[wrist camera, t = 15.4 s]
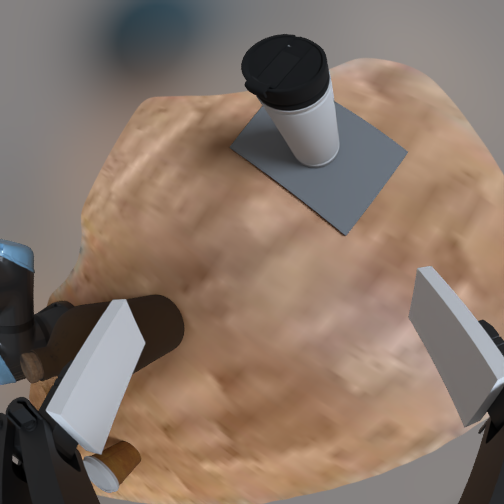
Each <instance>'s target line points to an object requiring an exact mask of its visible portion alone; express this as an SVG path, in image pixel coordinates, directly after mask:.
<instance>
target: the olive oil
mask: <svg viewBox="0 0 504 504" xmlns="http://www.w3.org/2000/svg"><path fill="white" fill-rule="evenodd" d="M126 301H127V303H128V305H129V308H130V310H131V312H132V315H133V317H134V319H135V322H136V324H137V326H138V328H139V330H140V333H141V335H142V337H143V339H144V341H145V345H144V348H143V350H142V352H141V355H140V357H139V359H138V362H137V364H136V366H135V369H134V371H133V373H132V374H134V373H135V372H137V371H139V370H140V369H142V368H143V367H145V366H147V365H148V364H150V363H152V362H153V361H155V360H156V359H158V358H160V357H162V356H163V355H165V354H167V353H168V352H170V351H172V350H173V349H175V348H176V347H177V346H178V345H179V344H180V343H181V341H182V338H183V335H184V323H183V319H182V316H181V313H180V311H179V310H178V308H177V307H176V305H175V304H174V303H173V302H172V301H171V300H169V299H168V298H166V297H164V296H161V295H149V296H144V297H138V298H132V299H126ZM111 302H112V301H110V302H102V303H94V304H85V305H79V306H76V307H73V308H71V309H70V310H68V311H67V312H65V313H64V314H63V315H61V316H60V318H59V319H58V320H57V322H56V324H55V326H54V328H53V331H52V333H51V336H50V339H49V341H48V344H47V346H46V347H43V348H38V349H34V350H31V351H30V352H29V353H23V354H21V356H20V363H21V368H22V370H23V373H24V375H25V377H26V378H27V379H28V381H29V382H30V383H35V382H38V381H39V380H40V381H44V380H47V379H49V378H52V377H54V376H58V375H59V374H60V372H61V370H62V369H63V367H64V366H65V365H66V364H67V363H69V362H70V361H71V360H74V359H75V357H76V356H77V354H78V352H79V351H80V349H81V348H82V346H83V344H84V343H85V341H86V340H87V338H88V336H89V335H90V333H91V332H92V330H93V329H94V327H95V326H96V324H97V323H98V321H99V319H100V318H101V316H102V315H103V313H104V312H105V310H106V309H107V307H108V306H109V305H110V303H111Z"/></svg>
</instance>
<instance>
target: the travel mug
mask: <svg viewBox="0 0 504 504" xmlns="http://www.w3.org/2000/svg"><path fill="white" fill-rule="evenodd" d="M241 70H242V74H243V76H244V77H245V79H246V80H247V81H246V82H245V87H246V88H247V90H248V91H249V92H251V93H253V94H254V95H256V96H257V98H258V99H259V101H260V102H261V104H262V105H263V107H264V108H265V110H266V111H267V113H268V114H269V116H270V117H271V119H272V121H273V122H274V124H275V125H276V127H277V128H278V130H279V131H280V133H281V135H282V136H283V138H284V139H285V141H286V143H287V144H288V146H289V147H290V149H291V151H292V152H293V154H294V156H295V157H296V159H297V160H298V161H299V162H300V163H301V164H303V165H305V166H307V167H310V168H321V167H325V166H327V165H329V164H330V163H332V162H333V161H334V160H335V159H336V157H337V155H338V153H339V149H340V143H339V134H338V125H337V117H336V110H335V102H334V96H333V89H332V83H331V77H330V71H329V69H328V64H327V58H326V54H325V52H324V51H323V49H322V48H321V47H320V46H319V45H317V44H316V43H314V42H313V41H311V40H308V39H306V38H302V37H295V35H288V34H282V35H275V36H271V37H268V38H265V39H263V40H261V41H259V42H257V43H256V44H255V45H253V46H252V47H251V48H250V49H249V50H248V51H247V52H246V54H245V56H244V57H243V60H242V64H241Z"/></svg>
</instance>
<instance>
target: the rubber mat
mask: <svg viewBox="0 0 504 504" xmlns="http://www.w3.org/2000/svg"><path fill="white" fill-rule="evenodd" d="M334 102H335V101H334ZM335 110H336V117H337V125H338V134H339V143H340V149H339V153H338V155H337V157H336V159H335V160H334V161H333V162H332V163H330V164H329V165H327V166H325V167H321V168H310V167H307V166H305V165H303V164H301V163H300V162H299V161H298V160H297V159H296V157H295V156H294V154H293V152H292V151H291V149H290V147H289V146H288V144H287V143H286V141H285V139H284V138H283V136H282V135H281V133H280V131H279V130H278V128H277V127H276V125H275V124H274V122H273V121H272V119H271V117H270V116H269V114H268V113H267V111H266V110H265V108H264V107H263V106H262V107H261V108H260V110H259V111H258V112H257V113H256V114H255V116H254V117H253V118H252V119H251V121H250V122H249V123H248V124H247V126H246V127H245V128H244V129H243V131H242V132H241V133H240V134H239V136H238V137H237V138H236V140H235V141H234V142H233V143H232V145H231V146H230V148H231V149H232V150H234V151H235V152H237V153H238V154H239V155H241V156H242V157H244V158H245V159H247V160H248V161H249V162H251V163H252V164H254V165H255V166H256V167H258V168H259V169H260V170H262V171H263V172H265V173H266V174H267V175H269V176H270V177H271V178H273V179H274V180H275V181H277V182H278V183H279V184H281V185H282V186H283V187H285V188H286V189H287V190H289V191H290V192H291V193H293V194H294V195H295V196H297V197H298V198H299V199H300V200H302V201H303V202H304V203H306V204H307V205H308V206H309V207H311V208H312V209H313V210H314V211H316V212H317V213H318V214H319V215H321V216H322V217H323V218H324V219H326V220H327V221H328V222H329V223H331V224H332V225H333V226H334V227H336V228H337V229H338V230H339V231H340V232H342V233H343V234H344V235H345V236H346V235H347V234H348V233H349V231H350V230H351V229H352V228H353V226H354V225H355V224H356V222H357V221H358V220H359V219H360V217H361V216H362V215H363V213H364V212H365V211H366V209H367V208H368V207H369V205H370V204H371V203H372V201H373V200H374V199H375V197H376V196H377V195H378V193H379V192H380V191H381V189H382V188H383V187H384V185H385V184H386V183H387V181H388V180H389V178H390V177H391V176H392V174H393V173H394V171H395V170H396V169H397V167H398V166H399V164H400V163H401V162H402V160H403V159H404V157H405V156H406V155H407V153H408V151H406V150H405V149H404V148H402V147H401V146H400V145H398V144H397V143H396V142H394V141H393V140H392V139H390V138H389V137H388V136H386V135H385V134H384V133H382V132H381V131H379V130H378V129H376V128H375V127H374V126H372V125H371V124H369V123H368V122H366V121H365V120H363V119H362V118H360V117H359V116H357V115H356V114H354V113H353V112H351V111H349V110H348V109H346V108H345V107H343V106H341V105H340V104H338V103H336V102H335Z"/></svg>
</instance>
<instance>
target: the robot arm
mask: <svg viewBox="0 0 504 504" xmlns="http://www.w3.org/2000/svg"><path fill="white" fill-rule="evenodd" d="M34 273H35V271H34V255H33V251H32V250H31V249H30V248H29V247H28V246H26V245H22V244H19V243H15V242H11V241H8V240H3V239H0V385H4V384H8V383H15V382H16V381H19V380H22V379H25V378H26V377H25V375H24V373H23V370H22V368H21V363H20V356H21V354H23V353H29V352H30V351H31V350H34V349H38V348H43V347H46V346H47V344H48V341H49V339H50V336H51V333H52V331H53V328H54V326H55V324H56V322H57V320H58V319H59V318H60V316H61V315H63V314H64V313H65V312H67V311H68V310H70V309H71V308H73V307H74V306H73V305H72V304H71V303H69V302H67V301H59V302H54V303H52V304H51V305H49V306H47V307H46V308H44V309H43V310H41V311H40V312H38V313H37V314H34V305H33V287H34V285H33V284H34ZM409 319H410V321H411V322H412V324H413V326H414V328H415V329H416V331H417V333H418V335H419V336H420V338H421V340H422V342H423V343H424V345H425V347H426V349H427V351H428V353H429V354H430V356H431V358H432V360H433V362H434V364H435V366H436V368H437V370H438V372H439V374H440V376H441V378H442V380H443V382H444V384H445V386H446V388H447V390H448V392H449V394H450V396H451V398H452V400H453V402H454V405H455V407H456V409H457V411H458V413H459V416H460V418H461V420H462V423H463V425H464V427H467V426H469V425H471V424H474V423H476V422H478V421H480V420H481V419H482V417H483V416H484V415H485V413H486V412H488V414H489V416H490V417H489V419H488V420H487V421H486V422H485V424H484V425H483V426H482V427H481V428H480V430H479V432H478V433H479V434H480V433H481V432H482V431H483V430H484V429H485V431H484V434H483V438H482V441H481V445H480V449H479V451H478V455H477V457H476V460H475V463H474V466H473V469H472V472H471V474H470V477H469V479H468V482H467V484H466V487H465V489H464V492H463V494H462V496H461V498H460V501H459V503H458V504H504V341H503V339H502V338H501V337H499V334H498V333H497V331H496V330H495V329H494V327H493V326H492V325H490V324H489V323H487V322H486V321H484V320H480V321H477V319H476V318H475V317H474V316H473V314H472V313H471V312H470V311H469V309H468V308H467V307H466V306H465V304H464V303H463V302H462V301H461V299H460V298H459V297H458V296H457V295H456V294H455V292H454V291H453V290H452V289H451V288H450V286H449V285H448V284H447V283H446V282H445V281H444V280H443V278H442V277H441V276H440V275H439V274H438V273H437V272H436V271H435V270H434V268H433V267H432V266H428V267H421V268H417V273H416V280H415V286H414V291H413V297H412V302H411V307H410V312H409ZM144 345H145V341H144V339H143V337H142V335H141V333H140V330H139V328H138V326H137V324H136V322H135V319H134V317H133V315H132V312H131V310H130V308H129V305H128V303H127V301H126V299H120V300H112V302H111V303H110V305H109V306H108V307H107V309H106V310H105V312H104V313H103V315H102V316H101V318H100V319H99V321H98V323H97V324H96V326H95V327H94V329H93V330H92V332H91V333H90V335H89V336H88V338H87V340H86V341H85V343H84V344H83V346H82V348H81V349H80V351H79V352H78V354H77V356H76V357H75V359H74V360H71V361H70V362H69V363H67V364H66V365H65V366H64V367H63V369H62V370H61V372H60V374H59V375H58V378H57V379H56V381H55V382H54V386H52V387H51V389H50V391H49V393H48V394H47V396H46V398H45V400H44V402H43V404H42V405H41V407H40V409H39V411H38V410H37V409H36V408H35V407H34V406H33V405H32V404H31V403H30V401H29V400H28V399H26V398H24V397H19V398H16V399H15V400H13V401H12V402H11V403H10V404H9V405H8V408H7V410H6V415H5V414H3V413H0V504H100V502H99V500H98V498H97V496H96V493H95V491H94V489H93V486H92V484H91V481H90V479H89V476H88V474H87V471H86V468H85V466H84V463H83V460H82V457H81V454H80V453H79V451H78V450H77V449H76V448H77V445H78V444H80V445H81V446H82V447H83V448H84V449H85V450H86V451H90V452H93V453H97V454H100V455H101V454H102V451H103V448H104V446H105V443H106V440H107V437H108V435H109V432H110V429H111V427H112V424H113V421H114V419H115V416H116V413H117V411H118V408H119V406H120V403H121V401H122V398H123V395H124V393H125V391H126V388H127V386H128V383H129V381H130V378H131V376H132V373H133V371H134V369H135V366H136V364H137V362H138V359H139V357H140V355H141V352H142V350H143V348H144ZM12 455H13V456H14V457H16V458H17V459H18V460H19V461H18V465H17V464H15V463H14V462H13V461H12Z"/></svg>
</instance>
